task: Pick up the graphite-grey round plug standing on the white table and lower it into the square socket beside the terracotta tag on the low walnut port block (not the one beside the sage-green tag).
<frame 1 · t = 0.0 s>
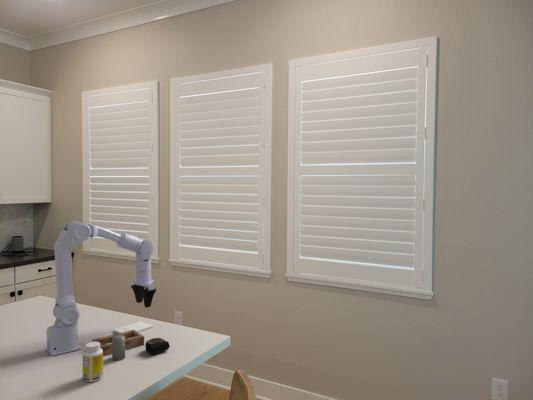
hand: (143, 304, 158), 10 cm above the table, fingers open, 7 cm apart
tape measure: (157, 352, 138), on the table
plug: (118, 358, 133), on the table
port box: (118, 346, 142), on the table
supplement bottle: (93, 379, 119), on the table
external hard drive: (133, 331, 159), on the table
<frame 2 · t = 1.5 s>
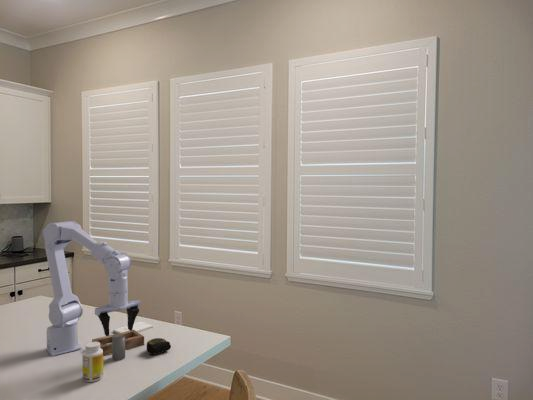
hand: (118, 332, 132), 9 cm above the table, fingers open, 7 cm apart
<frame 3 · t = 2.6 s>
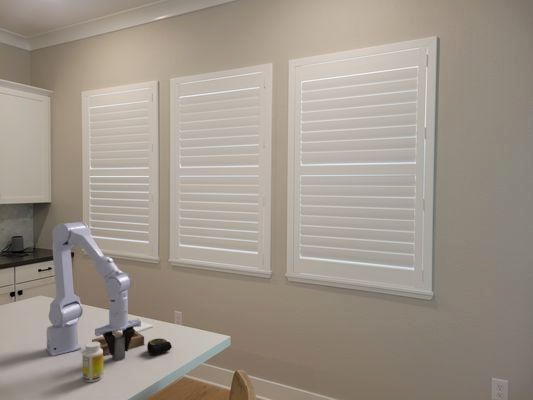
hand: (118, 352, 133), 2 cm above the table, fingers closed on plug, 4 cm apart
plug: (118, 358, 133), on the table, touching gripper
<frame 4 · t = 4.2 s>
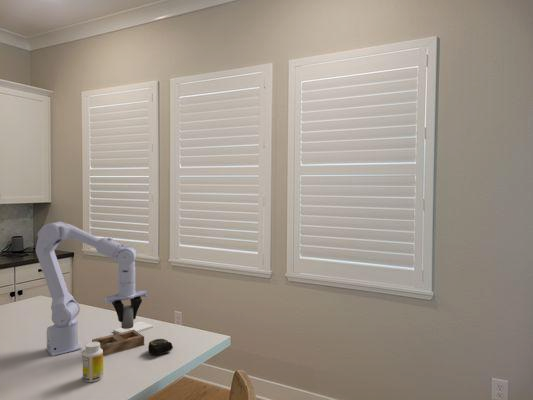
hand: (127, 319, 142), 9 cm above the table, fingers closed on plug, 4 cm apart
plug: (127, 326, 142), point 7 cm above the table, touching gripper
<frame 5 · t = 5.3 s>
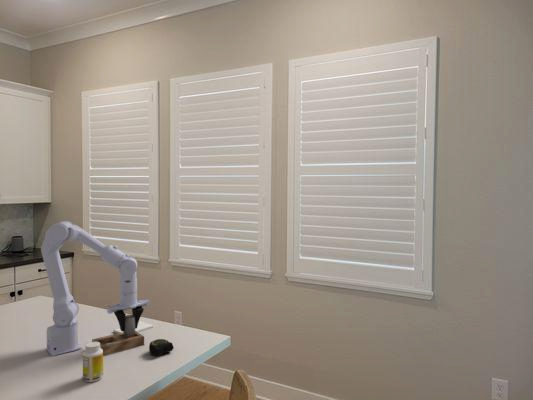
hand: (128, 329, 145), 5 cm above the table, fingers closed on plug, 4 cm apart
plug: (129, 335, 144), point 3 cm above the table, touching gripper
when the fingers open (4 cm above the table, at t = 6.2 s): plug stays where it is, resting on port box.
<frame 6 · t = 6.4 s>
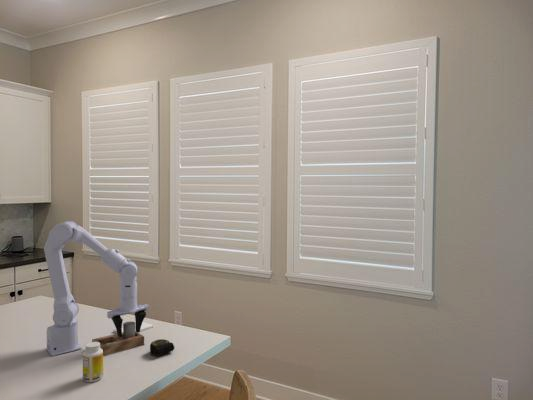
hand: (128, 333, 145), 4 cm above the table, fingers open, 6 cm apart
plug: (129, 342, 144), point 1 cm above the table, touching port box
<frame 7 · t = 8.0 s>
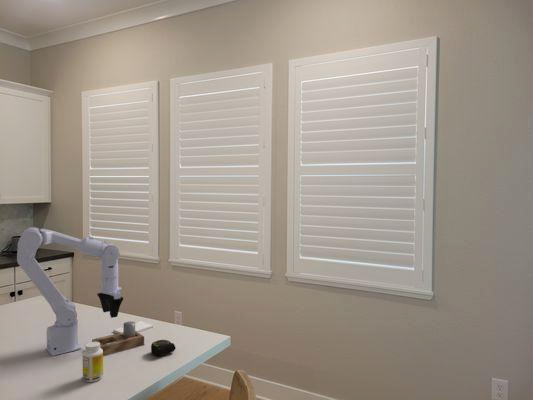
hand: (110, 314, 146), 10 cm above the table, fingers open, 7 cm apart
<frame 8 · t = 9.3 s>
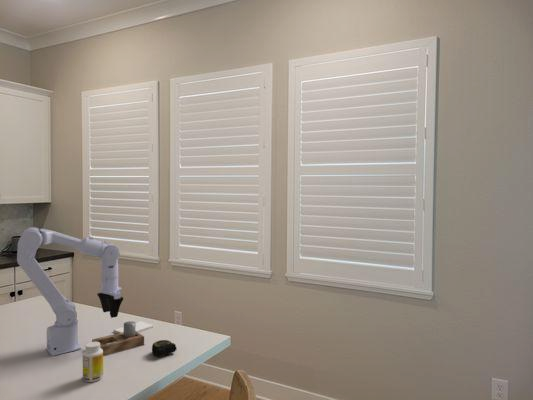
hand: (110, 314, 146), 10 cm above the table, fingers open, 7 cm apart
at the end: plug 0.4 cm from the target spot on the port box, point 0.6 cm above the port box's base; plug tilted 2°; the gripper is holding nothing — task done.
